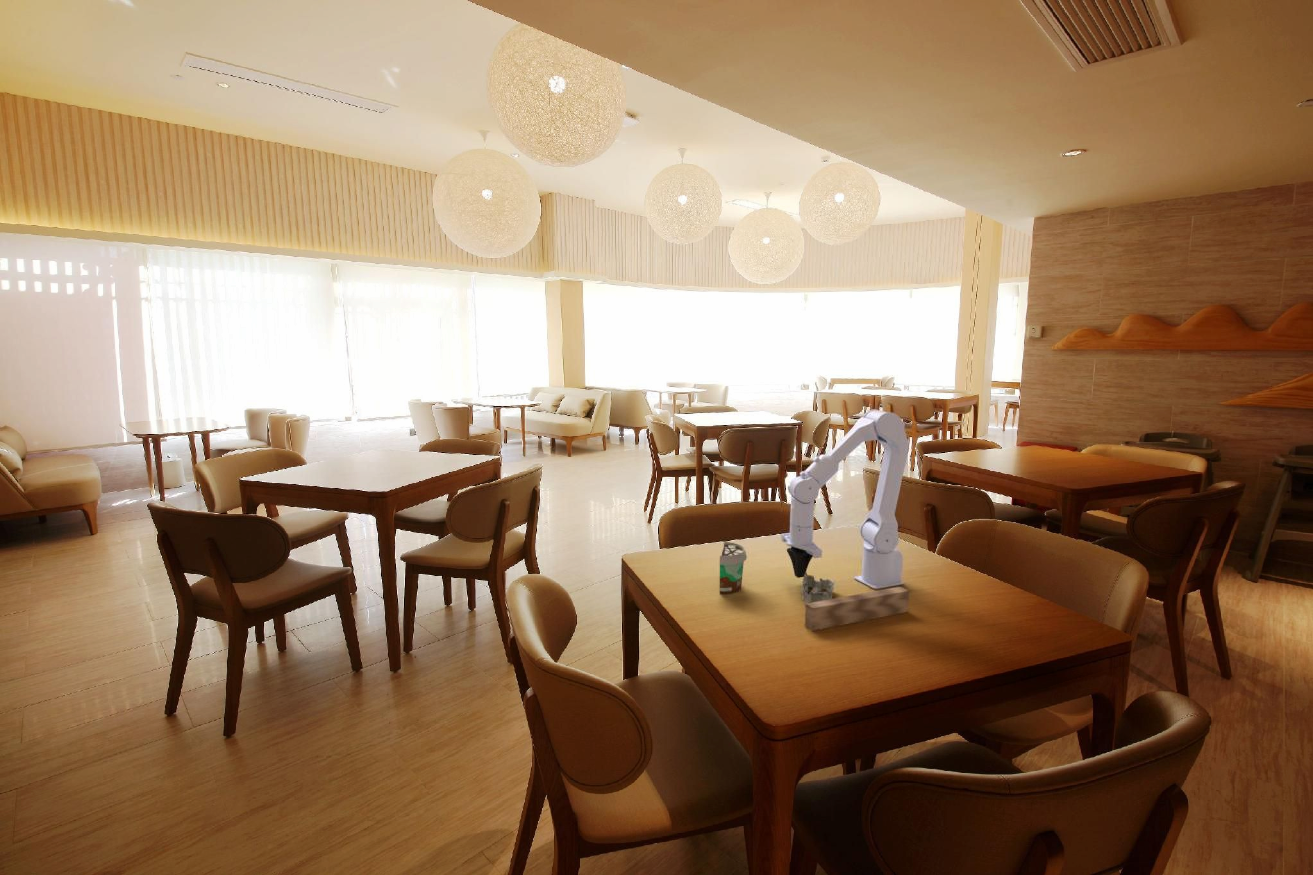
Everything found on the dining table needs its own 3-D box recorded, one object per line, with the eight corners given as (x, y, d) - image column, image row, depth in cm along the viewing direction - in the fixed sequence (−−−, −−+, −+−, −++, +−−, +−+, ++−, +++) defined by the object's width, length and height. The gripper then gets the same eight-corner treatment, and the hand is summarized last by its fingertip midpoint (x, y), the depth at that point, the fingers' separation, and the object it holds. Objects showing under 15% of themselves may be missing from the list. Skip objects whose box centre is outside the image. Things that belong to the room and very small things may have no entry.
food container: (744, 598, 141) (745, 558, 139) (718, 596, 142) (719, 556, 140) (747, 579, 153) (748, 542, 151) (723, 577, 154) (724, 540, 152)
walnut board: (899, 607, 136) (900, 586, 135) (907, 611, 133) (909, 590, 133) (804, 625, 126) (805, 603, 126) (812, 630, 124) (812, 608, 123)
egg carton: (803, 586, 149) (804, 571, 148) (834, 590, 146) (835, 575, 146) (798, 602, 139) (799, 586, 138) (831, 607, 136) (832, 590, 136)
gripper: (772, 518, 153) (770, 568, 155) (805, 534, 140) (803, 588, 142) (795, 516, 156) (793, 565, 158) (829, 531, 142) (827, 584, 144)
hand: (799, 576), depth 150 cm, fingers closed
